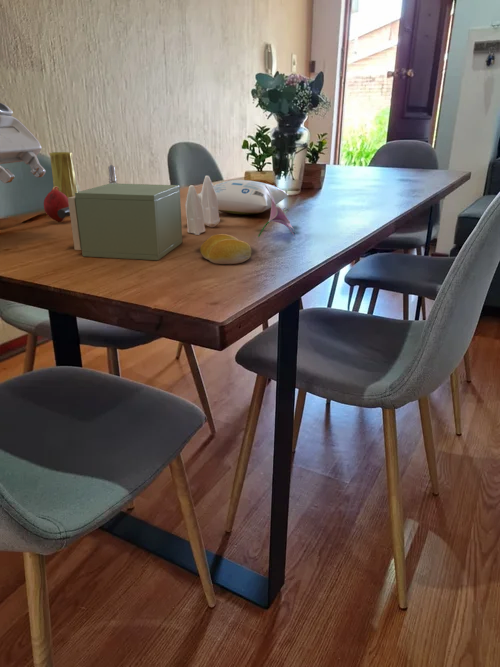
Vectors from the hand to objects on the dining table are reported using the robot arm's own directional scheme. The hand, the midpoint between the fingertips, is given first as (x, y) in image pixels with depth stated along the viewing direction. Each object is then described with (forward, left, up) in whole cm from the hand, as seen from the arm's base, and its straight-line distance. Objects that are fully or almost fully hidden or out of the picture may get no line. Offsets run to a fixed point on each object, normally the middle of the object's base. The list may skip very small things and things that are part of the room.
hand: (26, 177), depth 91 cm
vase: (-7, +38, -12) cm, 41 cm away
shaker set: (+30, +16, -13) cm, 36 cm away
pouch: (+38, +38, -12) cm, 55 cm away
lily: (+46, +9, -12) cm, 48 cm away
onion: (-4, +23, -13) cm, 27 cm away
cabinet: (+19, -2, -12) cm, 23 cm away
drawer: (+15, -2, -11) cm, 19 cm away
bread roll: (+36, -9, -13) cm, 39 cm away
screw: (+10, +20, -13) cm, 26 cm away
